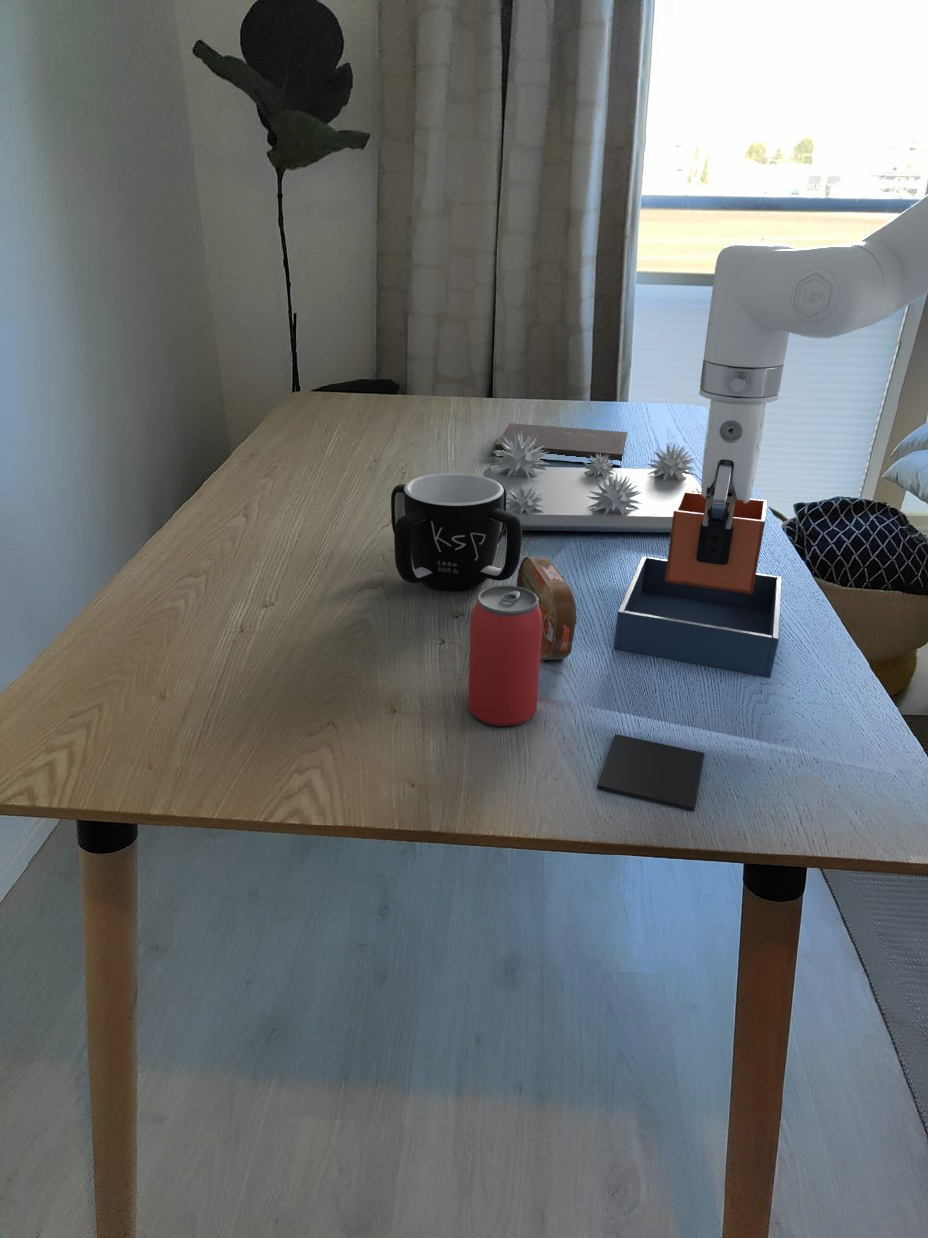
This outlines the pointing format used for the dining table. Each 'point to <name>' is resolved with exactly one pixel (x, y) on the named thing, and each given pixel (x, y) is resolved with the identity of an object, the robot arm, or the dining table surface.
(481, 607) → the beer can
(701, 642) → the box
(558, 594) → the tin
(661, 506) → the decorative tray
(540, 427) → the hardcover book
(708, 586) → the small bin
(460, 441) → the dining table surface
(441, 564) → the mug
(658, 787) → the mat
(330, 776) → the dining table surface
